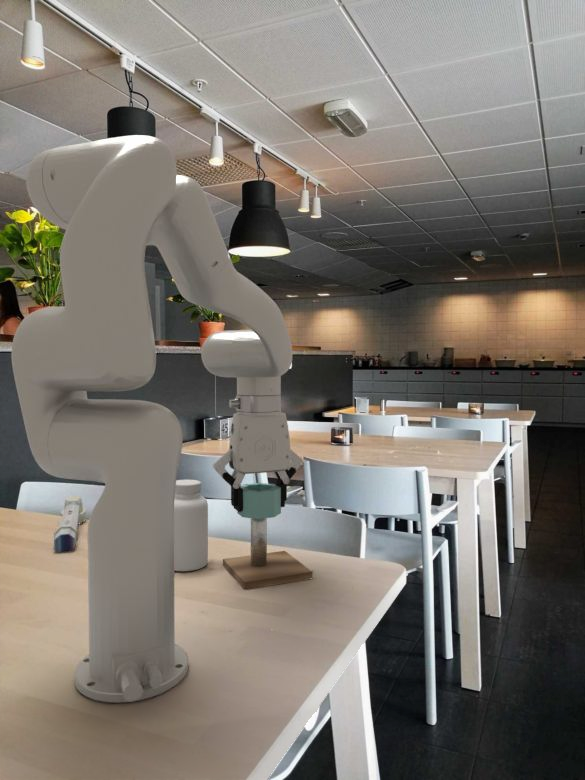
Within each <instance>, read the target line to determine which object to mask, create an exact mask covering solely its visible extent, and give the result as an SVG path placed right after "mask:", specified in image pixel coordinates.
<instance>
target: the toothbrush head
mask: <svg viewBox="0 0 585 780" xmlns="http://www.w3.org/2000/svg"><path fill="white" fill-rule="evenodd" d="M82 500H83V499H82V497H81V496H79V495H70V496H68V497H66V498H65V500H64V506H63V507H64V508H63V509H61V510H60V511H61V512H60V516H61V519H60V521H59V524H58V527H57V530H56V531H54V533H53V549H54V550H55V551H56V552H57V553H59V552H60V553H70V552H72V551H73V550H74V548H76V543H77V542H78V541H79V534H78V532H79V531H78V527H79V525H80V524H79V523H81V524H83V523H85V521H84V520H85V519H86V518H85V517H86V516H85V515H86V514H87V508H86V507H84V506H83V501H82ZM82 522H83V523H82ZM78 524H79V525H78ZM69 551H70V552H69Z"/></svg>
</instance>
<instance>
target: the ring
mask: <svg viewBox="0 0 585 780" xmlns="http://www.w3.org/2000/svg"><path fill="white" fill-rule="evenodd" d="M241 488H242V489H243V511H242V512H238V511H237V510H236V512H237V514H238V515H239V516H240V517H241V518H244V519H245V518H246V519H251V518H254V519H263V518H267V519H270V518H271V519H272V518H276V517H277V516H278V515H280V514H282V507H281V487H279V486H277V485H275V483H267V482H266V483H263V482H256V483H246V484H243V485H242V484H241Z"/></svg>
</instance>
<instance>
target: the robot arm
mask: <svg viewBox="0 0 585 780" xmlns="http://www.w3.org/2000/svg"><path fill="white" fill-rule="evenodd" d="M177 168H178V167H177V162H176V158H175V155H174V151H173V150H172V148H171V147H170V146H169V144H167V143H166V142H165V141H163V140H162V139H160V138H158V137H155V136H151V135H143V134H133V135H132V134H131V135H122V136H115V137H108V138H102V139H98V140H97V139H96V140H94V141H93V140H92V141H87V142H82V143H75V144H70V145H63V146H57V147H53V148H50V149H47V150H46V149H45V150H44V151H42V152H40V153H39V154H37V155H36V156H34V158H33V159H32V161H31V162H30V164H29V165H28V169H27V171H26V177H25V178H26V180H25V183H26V185H25V186H26V189H27V193H28V197H29V199H30V201H31V204H32V205H33V206H34V207H35V209H36V211H37V212H38V213H39V214H40V215H41V216H42V217H43V218H44V219H45V220H47V221H48V222H50V223H51V224H52V225H54V226H56V227H58V228H60V229H63V230H65V232H64V235H63V238H62V241H61V245H60V251H59V252H60V253H59V269H60V276H61V282H62V283H61V285H62V291H63V293H62V294H63V297H64V298H63V300H64V306H50V307H49V306H47V307H43V308H39V309H37V310H35V311H32V312H30V313H29V314H28V315H26V316H25V317H24V318H22V321H21V322H20V323H19V324H18V326H17V328H16V330H15V333H14V336H13V340H12V343H11V344H12V345H11V356H10V357H11V365H12V366H11V367H12V373H13V377H14V381H15V387H16V391H17V397H18V400H19V401H18V402H19V404H20V410H21V415H22V419H23V423H24V428H25V432H26V436H27V442H28V444H29V448H30V451H31V454H32V456H33V458H34V460H35V462H36V464H37V465H38V467H39V468H40V469H41V470H42V471H44V472H45V473H46V474H48V475H50V476H53V477H55V478H60V479H67V480H68V479H69V480H79V481H89V482H96V483H103V484H105V487H104V489H103V491H102V494H101V495H100V497H99V498H98V500H97V502H96V503H95V505H94V507H93V509H92V511H91V514H90V515H89V519H88V524H87V564H88V565H87V571H88V572H87V575H88V576H87V577H88V579H87V580H88V581H87V582H88V583H87V584H88V586H87V587H88V654H87V655H86V656H84V657H83V658H82V659H81V660H80V662H79V663H77V664H76V667H75V671H74V685H75V687H76V689H77V691H79V693H81V694H83V695H84V696H85V697H87V698H89V699H91V700H93V701H99V702H103V703H117V704H118V703H119V704H120V703H130V702H131V703H132V702H139V701H142V700H146V699H150V698H153V697H156V696H158V695H159V696H160V695H161V694H163V693H165V692H167V691H169V690H171V689H173V688H174V687H175V686H176V685H178V684H179V683H180V681H181V680H183V679H184V677H185V676H186V674H187V672H188V669H189V656H188V653H187V652H186V651H185V649H184V648H183V647H181V646H180V645H179V644H177V643H175V641H176V640H175V571H174V499H175V487H176V480H178V479H177V477H178V474H179V473H178V471H179V466H180V461H181V457H182V456H181V455H182V451H183V450H182V449H183V437H184V436H183V429H182V426H181V423H180V421H179V419H178V417H177V416H176V414H174V412H173V411H172V410H170V409H169V408H167V407H166V406H164V405H162V404H160V403H157V402H152V401H148V400H142V399H117V398H115V399H114V398H113V399H112V398H111V399H110V398H109V399H107V398H106V399H99V398H98V399H95V398H94V399H93V398H92V399H91V398H88V394H87V392H125V391H132V390H136V389H138V388H141V387H143V386H145V385H146V384H148V383H149V382H150V380H151V379H152V378H153V376H154V374H155V372H156V371H155V370H156V366H157V352H156V351H157V349H156V341H155V334H154V333H155V332H154V327H153V321H152V313H151V306H150V300H149V293H148V287H147V286H148V285H147V277H146V270H145V269H146V268H145V267H146V266H145V264H146V263H145V259H146V248H147V246H155V247H156V248H157V249H158V251H159V253H160V256H161V257H162V259H163V261H164V263H165V266H166V267H167V269H168V271H169V273H170V275H171V278H172V279H173V281H174V283H175V286H176V288H177V290H178V291H179V294H180V295H181V297H182V298H183V299H185V300H186V301H187V302H189V303H191V304H194V305H196V306H198V307H200V308H203V309H205V310H208V311H210V312H213V313H216V314H219V315H222V316H225V317H228V318H231V319H233V320H235V321H237V322H239V323H241V324H243V325H244V326H246V327H247V328H249V329H239V330H237V329H234V330H233V329H232V330H231V329H230V330H219V331H216V332H213V333H211V334H210V335H209V336H207V337H206V338H205V340H204V342H203V344H202V346H201V350H200V351H201V353H200V355H201V361H202V364H203V366H204V368H205V369H206V370H207V371H208V372H209V373H210V374H212V375H214V376H217V377H221V378H236V395H235V398H233V399H229V402H228V406H229V408H234V409H235V411H236V413H233V416H232V419H231V421H232V422H231V427H230V433H229V443H228V450H227V451H226V452H225V453H224V454H223V455H222V456H221V457H220V458H218V460H217V461H215V463H213V465H212V467H213V469H214V470H215V471H216V473H217V474H218V475H219V476H220V477H221V478H222V479H223V480H224V481H225V482H226V483H227V484H228V486H230V503H231V504H230V505H231V506H232V507H233V509H234V510H236V512H237V511H238V512H242V511H243V489H242V488H241V486H242V482H243V480H244V479H245V476H246V475H247V474H248V475H249V474H253V475H254V474H264V473H273V474H274V475H275V478H276V480H275V481H274V484H275V485H277V486H279V487H281V508H285V506H286V501H287V500H288V499H287V498H288V497H287V496H288V492H287V491H288V489H287V488H288V484H289V483H290V480H291V479H292V478H293V477H294V475H295V474H296V472H297V470H298V469H299V468H300V466H301V465H302V464H303V462H304V460H303V458H301V456H299V455H298V454H297V453H296V452H294V451H293V450H292V449H291V441H290V432H289V424H288V419H287V415H286V412H282V410H281V407H282V404H281V403H282V402H281V401H282V400H281V399H282V398H281V397H282V395H281V394H282V392H281V391H282V389H281V386H282V382H281V380H282V377H281V376H284V374H286V373H287V372H288V371H289V369H290V368H291V366H292V362H293V344H292V340H291V336H290V334H289V330H288V328H287V324H286V321H285V319H284V316H283V313H282V311H281V309H280V308H279V306H278V304H277V303H276V302H275V301H274V300H273V299H272V298H271V297H270V296H269V294H267V293H266V292H265V291H264V290H263V289H262V288H261V287H259V286H258V285H257V284H256V283H254V282H253V281H252V280H251V279H249V278H248V277H246V276H244V275H243V274H242V273H240V272H238V270H237V269H236V268H235V266H234V263H233V262H232V259H231V255H230V254H229V253H230V252H229V250H228V249H227V246H226V243H225V239H223V236H222V234H221V230H220V228H219V224H218V222H217V220H216V217H215V215H214V212H213V210H212V207H211V204H210V202H209V200H208V197H207V194H206V193H205V191H204V189H203V187H202V185H201V184H200V183H199V182H198V181H197V180H196V179H193V178H192V177H190V176H187V175H183V174H178V173H177ZM226 465H229V468H231V469H232V470H233V471H232V473H229V472H228V471H227V470H226Z"/></svg>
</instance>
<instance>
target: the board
mask: <svg viewBox="0 0 585 780" xmlns="http://www.w3.org/2000/svg"><path fill="white" fill-rule="evenodd" d="M222 567H223V568H224V569H225V570H226V571H227V572H228V573H229V574H230V575H231V576H232V577H233V579H234V580H235V581H236V582H237V583H238V585H240V586H241V587H242V589H243V590H249V589H256V588H261V587H263V588H264V587H269V586H274V585H281V584H286V583H287V584H288V583H293V582H299V581H300V580H301V581H305V579H307V580H311V579H310V578H312V579H313V571H312V570H311V569H310V568H308V567H307V566H306V565H304V564H303V563H301V562H300V561H299V560H298V559H296V558H295V557H294V556H292V555H291V554H290V553H288V552H287V551H286V550H281V551H273V552H267V565H266V566H263V567H254V566H252V565H251V554H249V555H244V556H235V557H229V558H222Z"/></svg>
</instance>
